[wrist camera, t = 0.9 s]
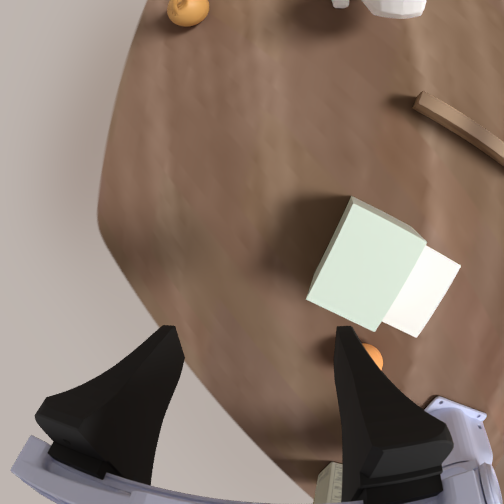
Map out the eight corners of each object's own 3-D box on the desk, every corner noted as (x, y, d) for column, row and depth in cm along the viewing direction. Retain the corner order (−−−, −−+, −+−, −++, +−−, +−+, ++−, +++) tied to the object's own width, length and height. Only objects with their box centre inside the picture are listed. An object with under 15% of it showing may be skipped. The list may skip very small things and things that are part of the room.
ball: (389, 345, 27) (392, 369, 23) (367, 374, 28) (368, 399, 25) (354, 329, 27) (354, 352, 24) (334, 359, 29) (331, 384, 25)
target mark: (460, 265, 23) (461, 265, 23) (416, 336, 26) (416, 337, 26) (388, 224, 24) (388, 225, 24) (346, 303, 27) (346, 304, 27)
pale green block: (411, 226, 24) (427, 242, 18) (370, 301, 26) (374, 331, 21) (351, 195, 24) (353, 203, 19) (314, 273, 27) (306, 299, 22)
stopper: (522, 167, 19) (534, 167, 16) (518, 178, 19) (531, 179, 17) (416, 96, 20) (423, 90, 18) (412, 108, 21) (418, 103, 19)
